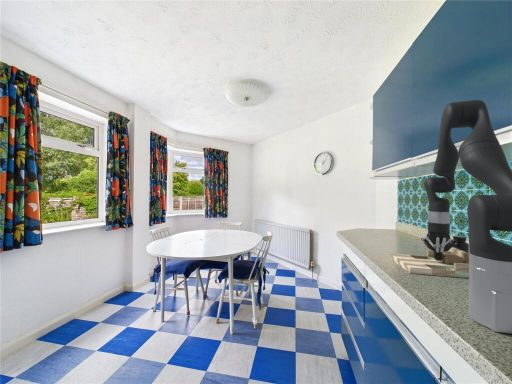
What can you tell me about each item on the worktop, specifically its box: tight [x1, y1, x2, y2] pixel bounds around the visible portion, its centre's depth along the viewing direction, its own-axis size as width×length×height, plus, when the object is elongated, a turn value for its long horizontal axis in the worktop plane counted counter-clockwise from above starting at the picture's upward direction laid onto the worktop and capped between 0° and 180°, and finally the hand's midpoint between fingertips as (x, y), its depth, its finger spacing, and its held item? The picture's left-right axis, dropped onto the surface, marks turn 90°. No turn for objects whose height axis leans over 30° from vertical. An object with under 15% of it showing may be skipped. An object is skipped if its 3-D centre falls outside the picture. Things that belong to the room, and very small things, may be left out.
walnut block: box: [440, 253, 463, 265], centre depth 94 cm, size 6×6×4 cm
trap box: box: [390, 248, 469, 279], centre depth 95 cm, size 20×27×8 cm
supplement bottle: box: [452, 235, 469, 253], centre depth 106 cm, size 7×7×12 cm
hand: (437, 260), depth 95 cm, fingers closed
